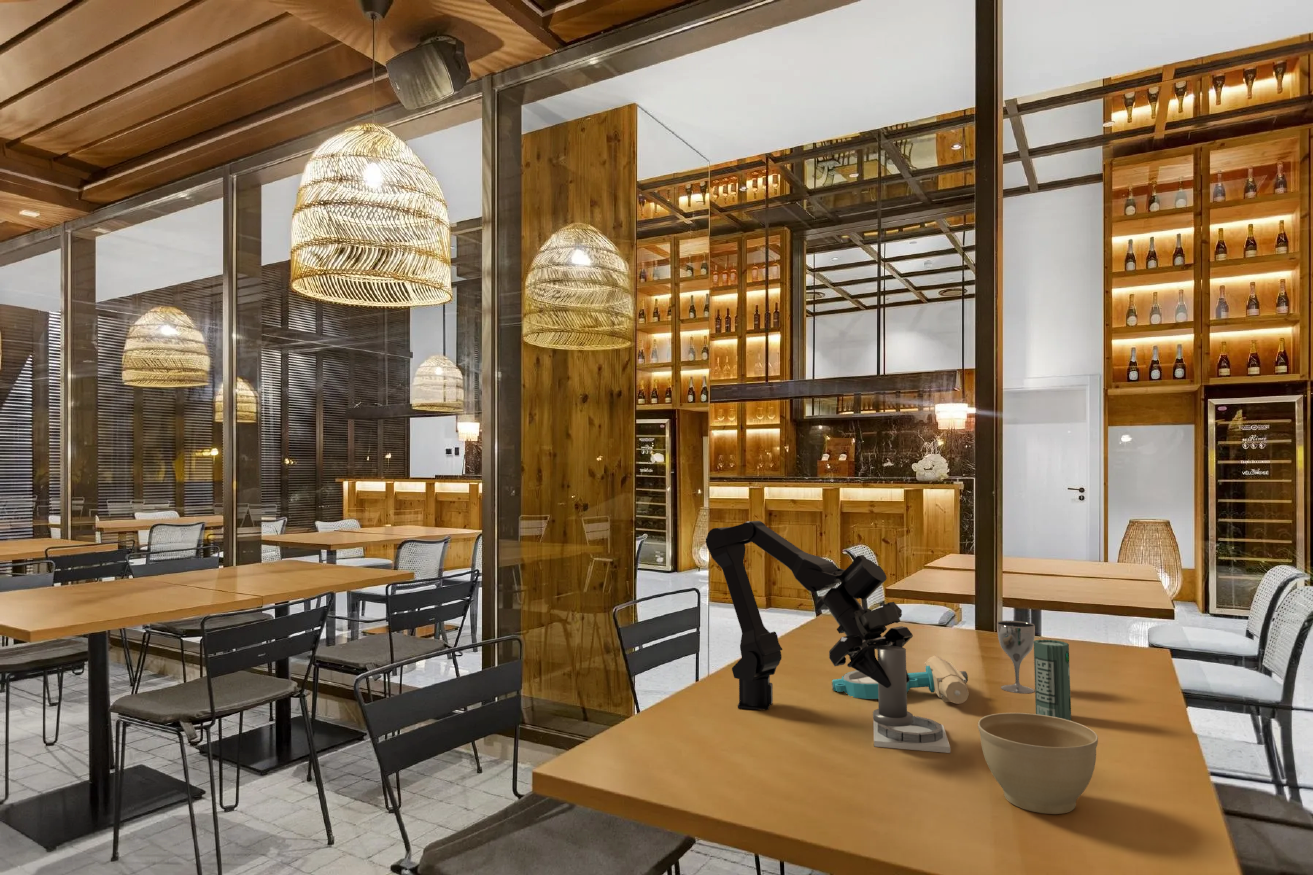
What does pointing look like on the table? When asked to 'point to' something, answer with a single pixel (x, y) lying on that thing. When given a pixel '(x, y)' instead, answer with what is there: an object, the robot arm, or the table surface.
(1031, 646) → the wine glass
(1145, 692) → the table surface
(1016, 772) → the planter bowl
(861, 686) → the butterfly valve
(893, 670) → the pipe fitting
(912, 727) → the flange plate
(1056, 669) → the can
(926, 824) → the table surface
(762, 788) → the table surface
